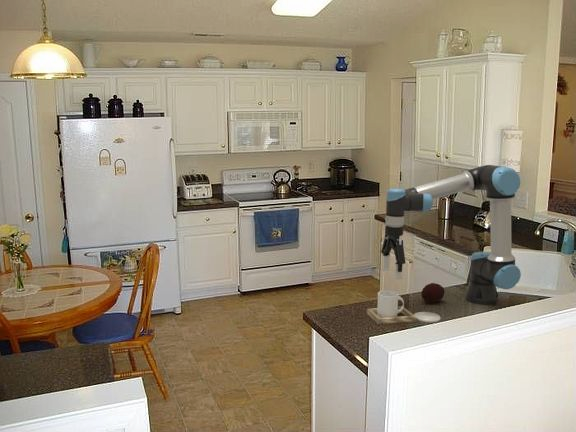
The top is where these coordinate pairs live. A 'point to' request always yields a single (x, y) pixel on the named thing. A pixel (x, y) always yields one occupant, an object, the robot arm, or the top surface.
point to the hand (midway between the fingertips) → (391, 274)
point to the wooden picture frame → (407, 318)
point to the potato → (432, 292)
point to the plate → (427, 317)
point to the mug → (388, 304)
